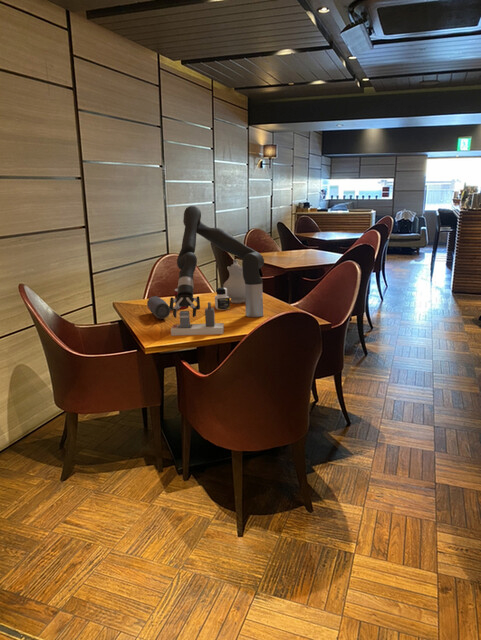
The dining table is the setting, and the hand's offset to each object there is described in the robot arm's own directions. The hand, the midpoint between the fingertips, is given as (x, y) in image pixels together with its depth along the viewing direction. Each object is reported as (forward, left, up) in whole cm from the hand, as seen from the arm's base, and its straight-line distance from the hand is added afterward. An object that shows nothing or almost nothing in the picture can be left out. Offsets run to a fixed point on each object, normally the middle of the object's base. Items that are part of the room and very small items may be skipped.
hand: (184, 316), depth 226 cm
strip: (-6, 0, -8) cm, 10 cm away
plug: (0, -1, -8) cm, 8 cm away
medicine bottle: (-15, -51, -8) cm, 54 cm away
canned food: (+9, -57, -8) cm, 59 cm away
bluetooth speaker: (+19, -36, -8) cm, 42 cm away
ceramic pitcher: (-24, -72, -8) cm, 77 cm away
